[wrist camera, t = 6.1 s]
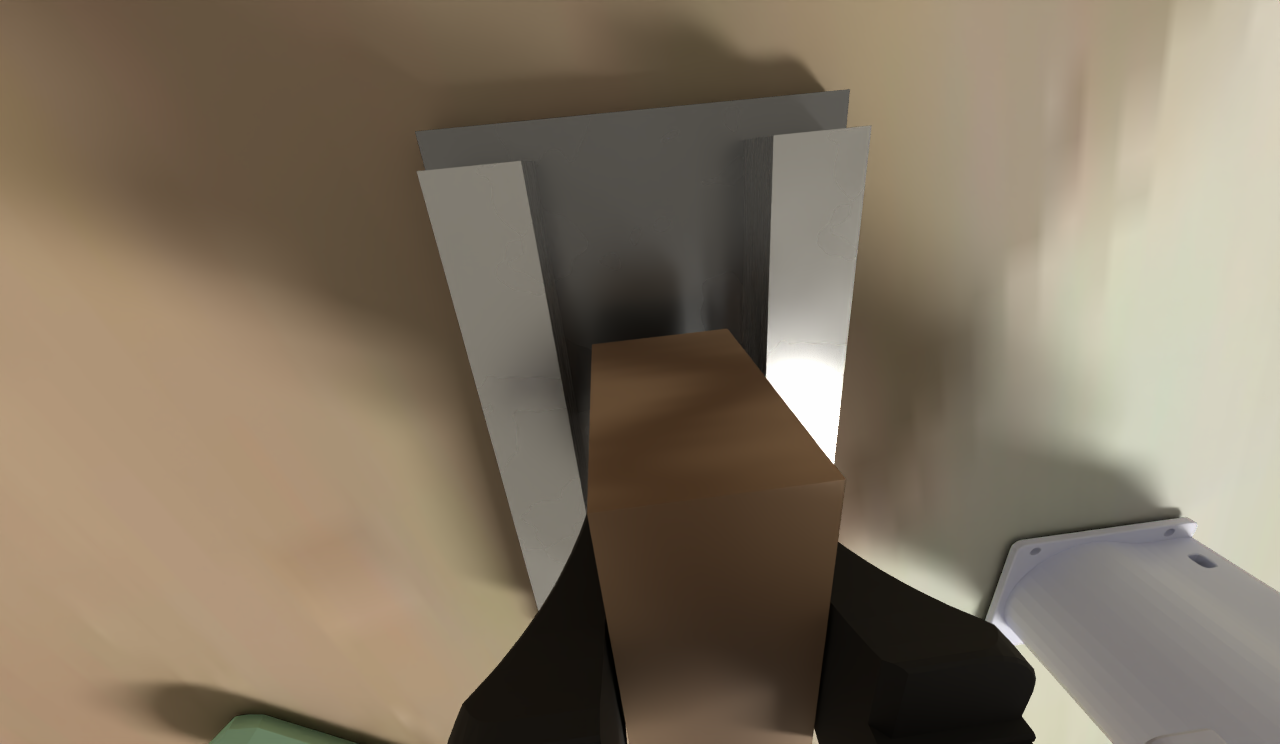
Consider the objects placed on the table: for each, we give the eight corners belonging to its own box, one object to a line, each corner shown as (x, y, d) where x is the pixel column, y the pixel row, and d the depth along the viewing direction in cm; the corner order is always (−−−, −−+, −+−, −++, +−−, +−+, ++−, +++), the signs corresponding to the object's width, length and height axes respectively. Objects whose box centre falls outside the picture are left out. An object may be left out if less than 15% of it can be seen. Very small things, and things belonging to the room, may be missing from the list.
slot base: (829, 95, 14) (902, 73, 10) (792, 595, 23) (823, 666, 20) (430, 134, 13) (375, 124, 10) (557, 628, 23) (550, 707, 19)
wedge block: (727, 328, 13) (845, 479, 7) (729, 571, 18) (804, 801, 11) (591, 344, 13) (586, 513, 7) (627, 584, 17) (644, 826, 11)
